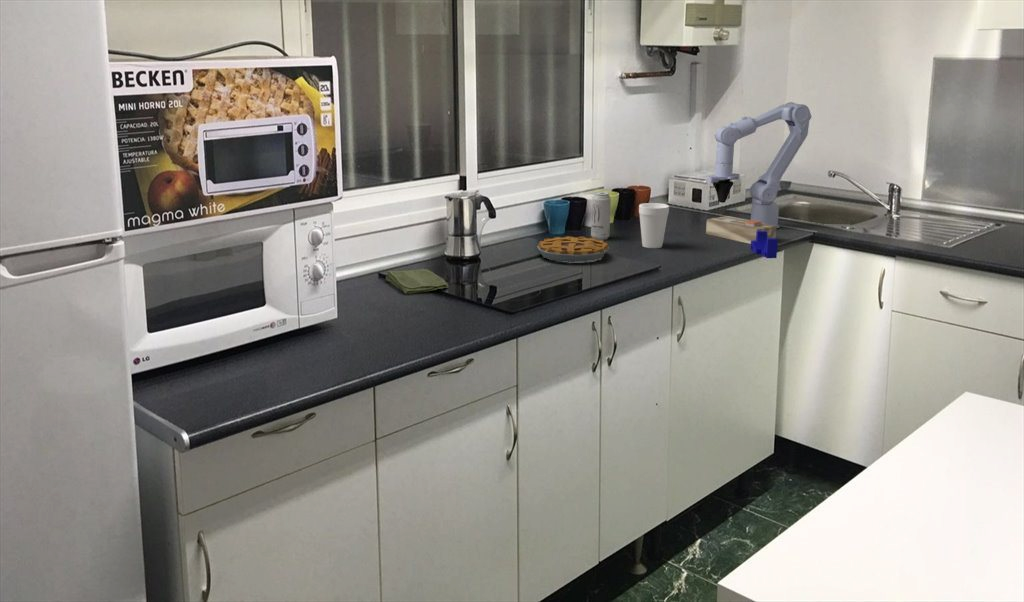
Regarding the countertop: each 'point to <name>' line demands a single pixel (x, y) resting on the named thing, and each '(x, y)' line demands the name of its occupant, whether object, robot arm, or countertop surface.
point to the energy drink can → (600, 216)
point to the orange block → (753, 223)
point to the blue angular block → (764, 245)
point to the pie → (572, 248)
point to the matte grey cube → (729, 220)
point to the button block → (737, 229)
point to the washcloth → (415, 281)
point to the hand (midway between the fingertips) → (721, 202)
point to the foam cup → (653, 223)
